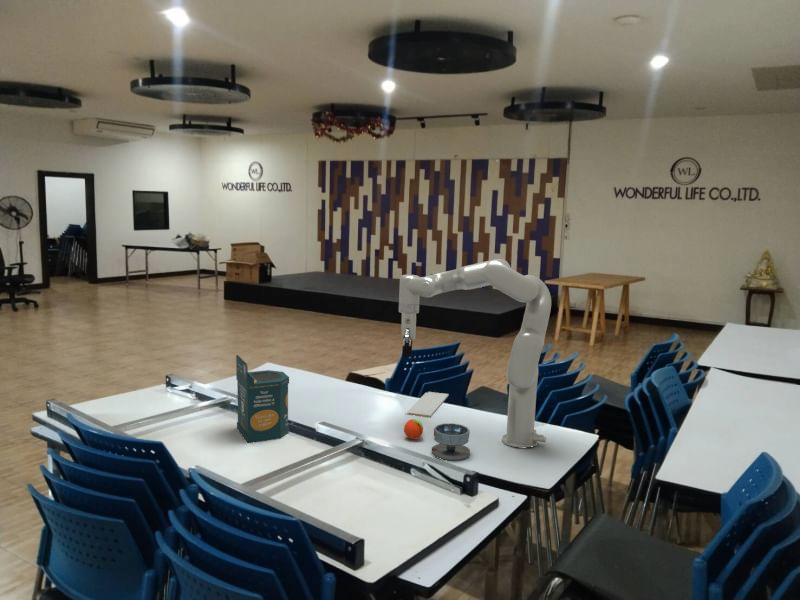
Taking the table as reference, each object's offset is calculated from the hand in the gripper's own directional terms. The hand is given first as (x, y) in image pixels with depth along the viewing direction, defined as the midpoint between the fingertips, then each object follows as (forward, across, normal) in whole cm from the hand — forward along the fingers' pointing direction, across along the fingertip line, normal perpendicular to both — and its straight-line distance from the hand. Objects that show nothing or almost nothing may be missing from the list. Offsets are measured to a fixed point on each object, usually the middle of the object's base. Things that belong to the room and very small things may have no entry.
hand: (407, 353), depth 229 cm
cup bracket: (+28, -25, -17) cm, 41 cm away
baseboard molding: (+29, +27, -8) cm, 40 cm away
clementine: (+28, -13, -4) cm, 32 cm away
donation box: (+29, -14, +50) cm, 59 cm away
